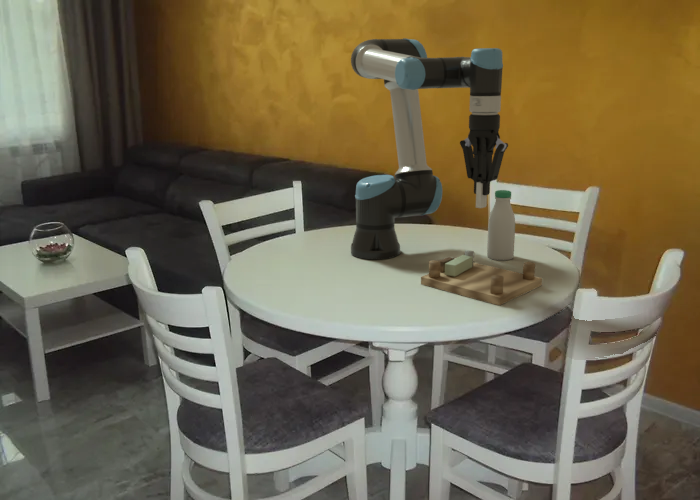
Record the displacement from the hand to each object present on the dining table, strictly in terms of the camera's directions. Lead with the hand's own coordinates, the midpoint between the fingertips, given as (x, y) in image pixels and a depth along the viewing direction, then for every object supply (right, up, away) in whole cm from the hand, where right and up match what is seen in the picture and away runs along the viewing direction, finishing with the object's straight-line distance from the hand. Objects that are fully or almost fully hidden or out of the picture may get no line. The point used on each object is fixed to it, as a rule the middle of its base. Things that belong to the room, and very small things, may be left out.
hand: (481, 207), depth 172 cm
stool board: (+1, -20, +4) cm, 20 cm away
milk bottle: (+11, -13, +28) cm, 33 cm away
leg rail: (-4, -16, +9) cm, 19 cm away
